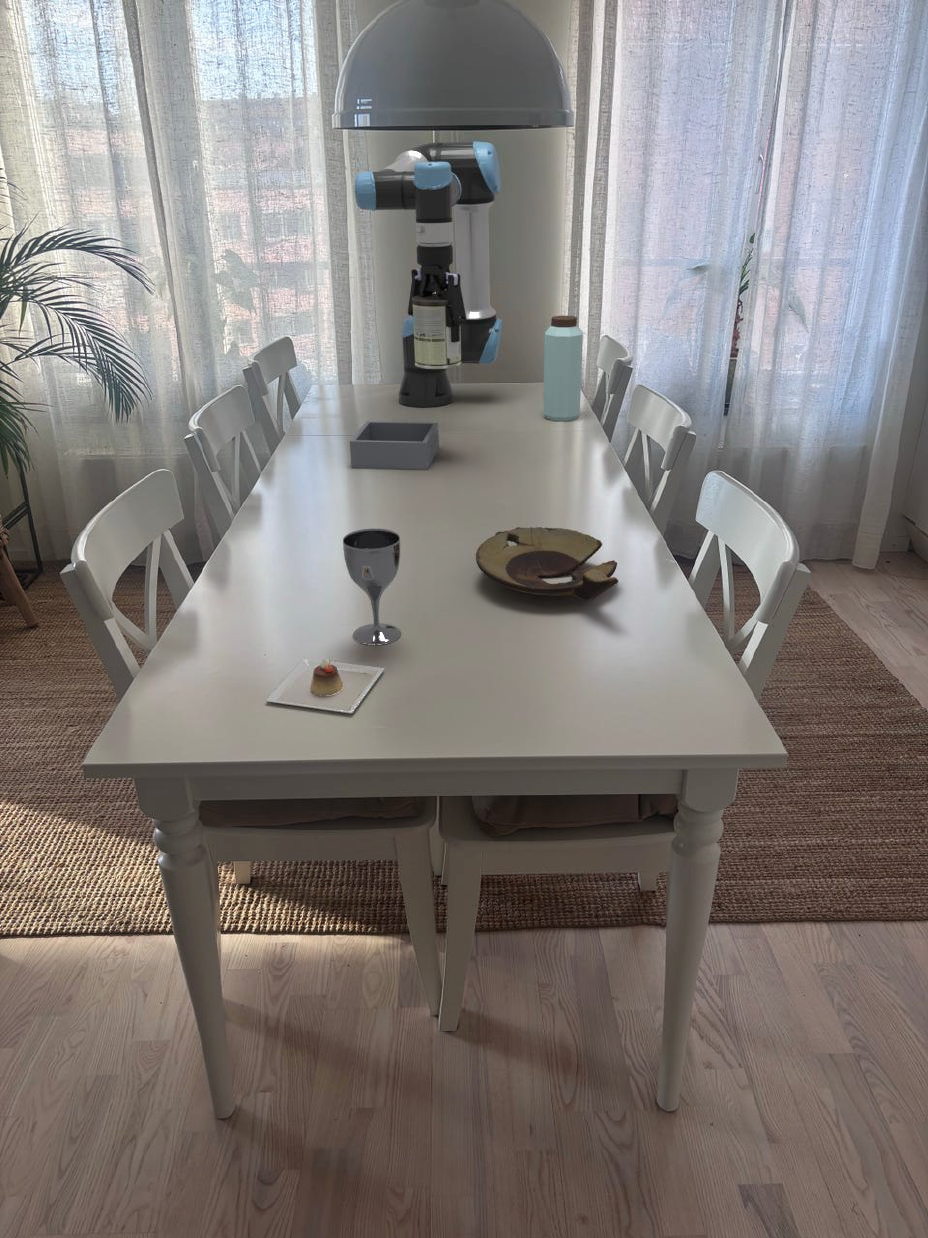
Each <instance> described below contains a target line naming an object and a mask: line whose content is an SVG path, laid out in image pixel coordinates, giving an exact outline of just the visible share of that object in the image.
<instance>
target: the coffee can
mask: <svg viewBox="0 0 928 1238" xmlns="http://www.w3.org/2000/svg"><path fill="white" fill-rule="evenodd" d="M412 302H413V324H414V348H415V366H417V367H420V368H425V369H446V370H447V369H452V368H457V367H459V366H460V365H462V363H461V332H460V341H459V357H455V358H447V339H446V325H448V324H449V323H448V321H447V318H446V305H447V306H451V302H450V299H449V300H440V298H439V297H438V296H437V295H436V293H433V294H432V296H426V297H420V296H419V295H417V296H414V297H412ZM453 320H454V318H453Z"/></svg>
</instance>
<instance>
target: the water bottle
mask: <svg viewBox="0 0 928 1238" xmlns="http://www.w3.org/2000/svg"><path fill="white" fill-rule="evenodd" d="M577 322H578V316H575V315H555V316H552V317H551V323H550V326H549V327H548V328H547V330H546V331H545V332H544V348H543V349H544V353H543V354H544V356H543V357H544V358H543V362H544V363H543V399H542V400H543V402H542V403H543V406H542V407H543V408H542V414H543V416H544V418H545V419H547V420H550V421H553V422H570V421H574V420H577V419H578V417H579V416H580V412H581V396H582V395H581V394H582V393H581V391H582V389H581V388H582V368H583V367H582V364H583V363H582V362H583V340H584V335H583V334H584V331H583V330H582V329H581V328H580V327H579V326H578V325H577Z"/></svg>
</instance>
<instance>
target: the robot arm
mask: <svg viewBox="0 0 928 1238" xmlns="http://www.w3.org/2000/svg"><path fill="white" fill-rule="evenodd" d="M495 147H496V146H494V145H493V144H492V143H490V142H487V141H476V140H475V141H453V142H446V141H445V142H439V141H438V142H428V143H424V144H421V145H418V146H415V147H412V148H410V149H408V150H406V151H403V152H402V153H400V154H399V155H397V157H396V158H395V160H394V161H393V163H392V164H390V165H388V166H386V167H385V168H383V169H381V170H379V171H371V170H369V171H360V172H358V173H357V174H356V176H355V181H354V198H355V201H356V205H357V207H358V208H359V209H361V210H365V211H366V210H367V211H368V210H369V211H372V212H374V211H393V210H394V211H397V210H398V211H399V210H400V211H401V210H406V211H409V210H411V211H415V226H416V227H415V229H416V230H415V231H416V233H415V234H416V236H415V238H416V239H415V240H416V242H417V243H418V245H417V246H416V263H417V264H418V265H419V266H421V267H420V268H416V269H415V268H414V269H412V270H411V271H410V272H411V273H410V275H411V285H410V293H409V299H408V300H409V301H408V305H407V306H408V308H407V314H408V317H407V318H405V319H404V320H403V323H402V334H401V338H402V351H403V352H402V353H403V354H402V355H403V376H402V379H401V384H400V387H399V390H398V402H399V404H402V405H405V406H408V407H415V408H423V407H424V408H429V407H430V408H432V407H441V406H445V405H448V404H451V403H453V401H454V391H453V388H452V385H451V381H450V379H449V376H448V373H447V369H425V368H420V367H417V366H415V348H414V324H413V302H412V297H414V296H417V295H419V296H420V297H426V296H432V294H436V295H437V296H438V297H439V298H440V300H449V299H450V302H451V306H447V305H446V318H447V321H448V323H449V324H448V325H446V339H447V358H455V357H459V341H460V332H461V364H469V365H471V364H472V365H473V364H477V365H482V364H493V363H494V362H496V360H497V358H498V354H499V350H500V345H501V338H502V332H503V331H502V330H503V329H502V328H503V321H502V319H501V318H499V317H498V318H497V311H496V309H494V307H493V306H491V283H490V278H491V277H490V274H491V273H490V272H491V271H490V225H489V220H490V219H489V218H490V217H489V215H490V214H489V213H490V212H489V209H490V208H491V206H492V205H493V204H494V203H495V195H496V196H497V195H498V194H500V193H501V185H502V184H501V170H500V163H499V157H498V154H497V150H496V148H495ZM453 210H454V212H453ZM453 213H454V227H453V217H452V216H453ZM453 228H454V230H453ZM453 231H454V234H453ZM454 235H455V236H454ZM454 237H455V238H454ZM454 239H455V262H456V264H455V265H456V271H455V272H456V273H451V270H450V266H451V265H452V264H453V263H454V250H453V249H454V246H453V245H452V244H451V243H452V242H453V241H454ZM453 318H454V320H453Z"/></svg>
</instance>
